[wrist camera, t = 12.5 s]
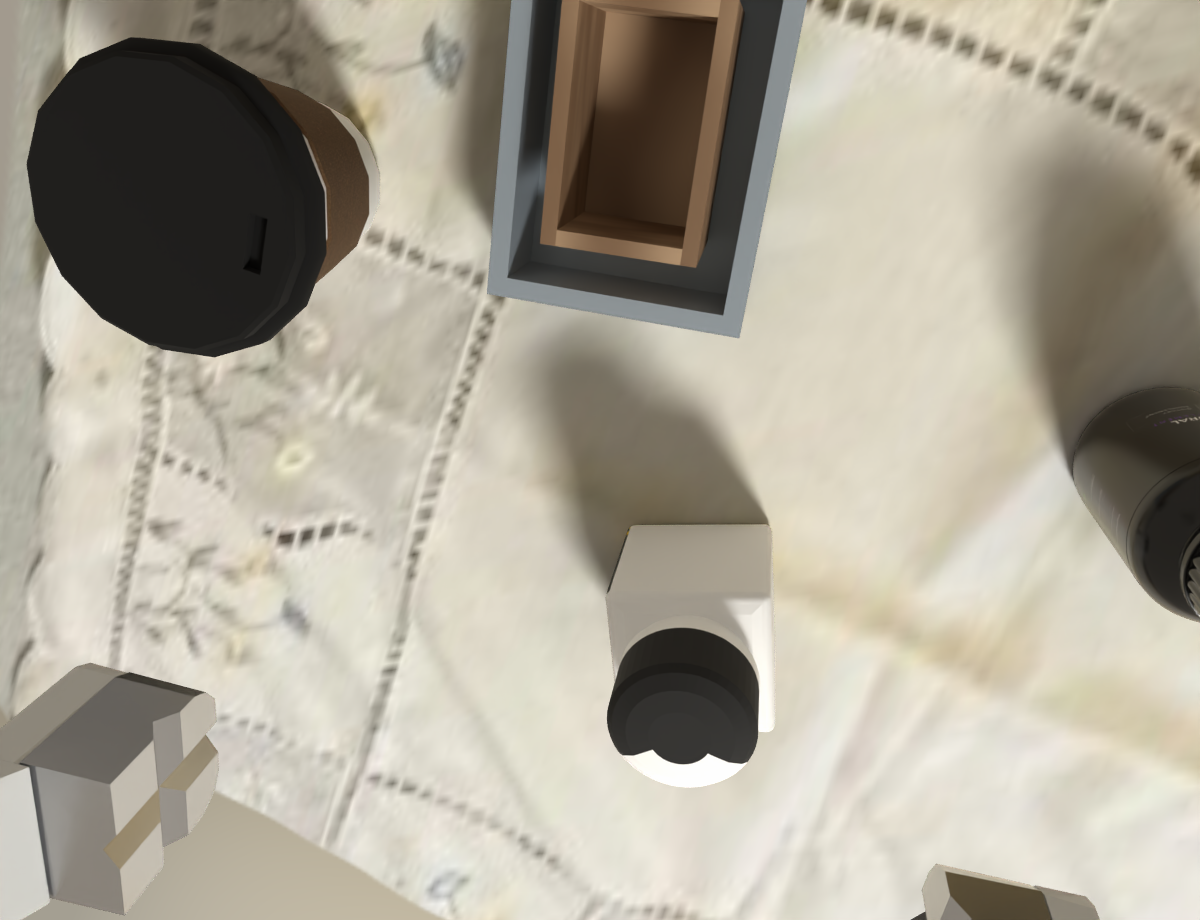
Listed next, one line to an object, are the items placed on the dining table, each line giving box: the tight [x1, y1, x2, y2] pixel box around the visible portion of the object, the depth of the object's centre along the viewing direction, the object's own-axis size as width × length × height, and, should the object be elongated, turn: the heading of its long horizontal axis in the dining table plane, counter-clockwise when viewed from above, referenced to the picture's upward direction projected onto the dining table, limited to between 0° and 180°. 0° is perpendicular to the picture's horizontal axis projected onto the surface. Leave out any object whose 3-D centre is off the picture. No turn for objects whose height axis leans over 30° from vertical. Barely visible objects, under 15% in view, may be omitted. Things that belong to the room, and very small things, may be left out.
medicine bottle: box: [606, 524, 775, 787], centre depth 41 cm, size 7×7×12 cm
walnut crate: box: [540, 0, 745, 268], centre depth 35 cm, size 6×9×6 cm, turn 174°
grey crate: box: [487, 0, 807, 338], centre depth 37 cm, size 11×14×4 cm
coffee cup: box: [27, 38, 380, 357], centre depth 37 cm, size 11×11×12 cm
